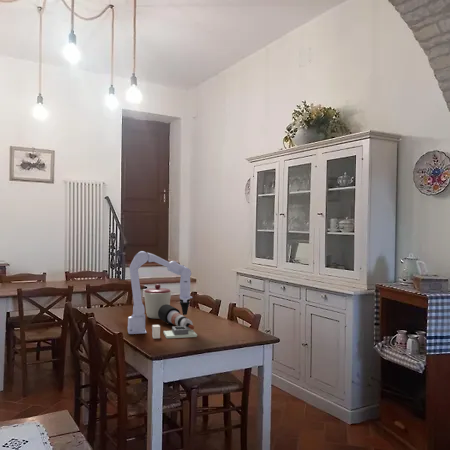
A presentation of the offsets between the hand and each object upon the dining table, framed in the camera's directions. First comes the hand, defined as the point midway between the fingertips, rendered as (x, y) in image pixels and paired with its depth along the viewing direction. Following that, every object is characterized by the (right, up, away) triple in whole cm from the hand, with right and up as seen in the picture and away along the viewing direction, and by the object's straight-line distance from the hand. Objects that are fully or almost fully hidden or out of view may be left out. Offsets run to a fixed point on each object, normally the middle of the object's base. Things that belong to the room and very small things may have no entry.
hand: (184, 313), depth 263 cm
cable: (-4, -9, +8) cm, 13 cm away
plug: (-14, -10, -15) cm, 23 cm away
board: (-2, -10, -10) cm, 14 cm away
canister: (-20, -10, +37) cm, 43 cm away
